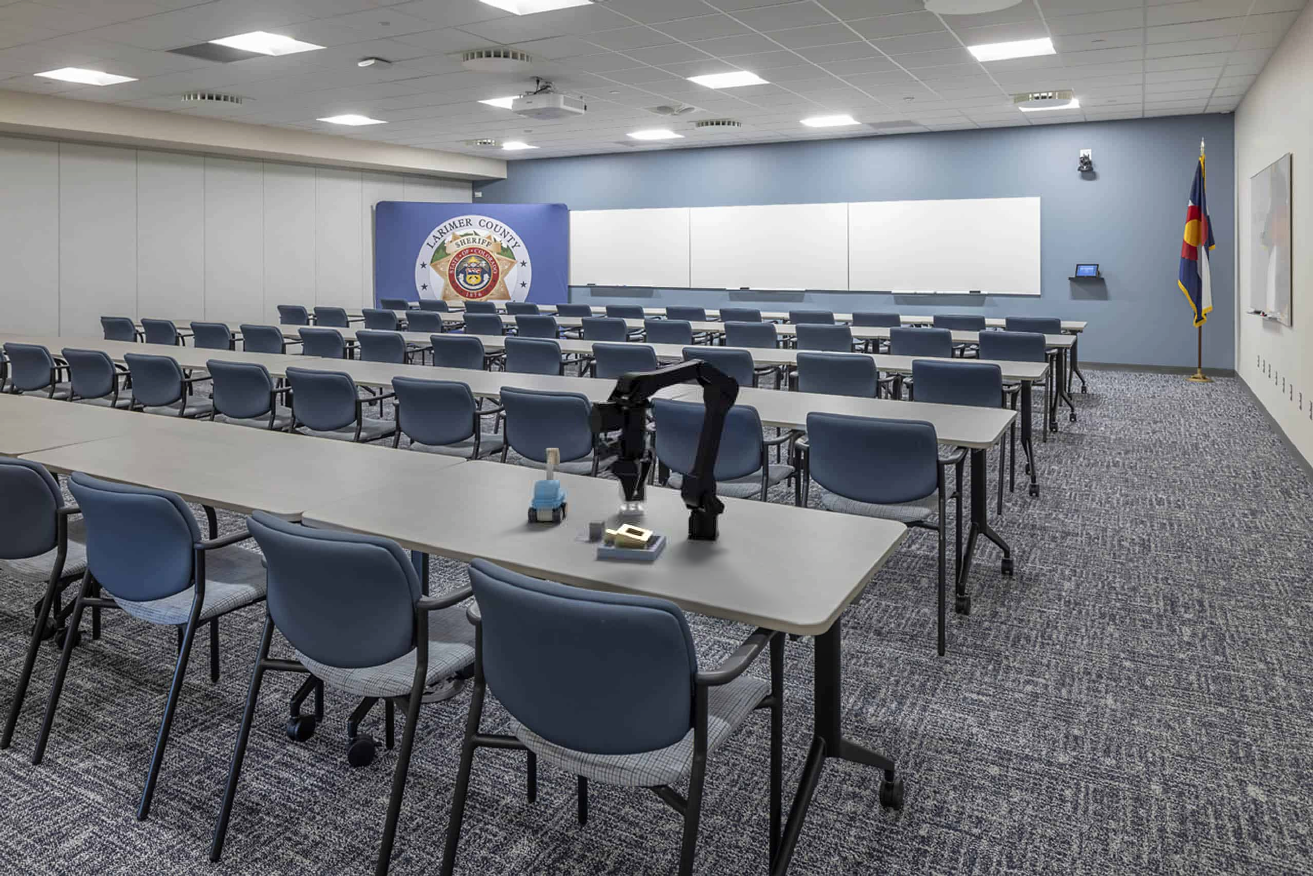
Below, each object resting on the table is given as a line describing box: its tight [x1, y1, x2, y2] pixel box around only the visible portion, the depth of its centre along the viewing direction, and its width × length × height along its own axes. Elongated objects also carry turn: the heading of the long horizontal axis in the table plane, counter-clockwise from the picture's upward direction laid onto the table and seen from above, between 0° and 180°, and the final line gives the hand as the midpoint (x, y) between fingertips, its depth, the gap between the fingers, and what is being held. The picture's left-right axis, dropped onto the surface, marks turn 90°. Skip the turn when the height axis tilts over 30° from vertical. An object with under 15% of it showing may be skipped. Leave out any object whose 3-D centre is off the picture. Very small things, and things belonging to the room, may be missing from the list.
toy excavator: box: [527, 447, 568, 524], centre depth 241 cm, size 9×17×17 cm, turn 174°
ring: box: [604, 523, 654, 550], centre depth 213 cm, size 10×7×4 cm
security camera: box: [618, 479, 648, 516], centre depth 245 cm, size 6×7×10 cm
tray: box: [596, 533, 667, 562], centre depth 213 cm, size 13×13×2 cm
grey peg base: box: [573, 519, 607, 543], centre depth 224 cm, size 9×9×4 cm
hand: (633, 496), depth 212 cm, fingers open, 9 cm apart
